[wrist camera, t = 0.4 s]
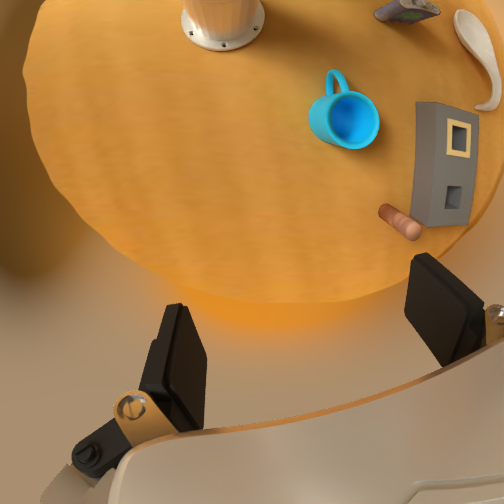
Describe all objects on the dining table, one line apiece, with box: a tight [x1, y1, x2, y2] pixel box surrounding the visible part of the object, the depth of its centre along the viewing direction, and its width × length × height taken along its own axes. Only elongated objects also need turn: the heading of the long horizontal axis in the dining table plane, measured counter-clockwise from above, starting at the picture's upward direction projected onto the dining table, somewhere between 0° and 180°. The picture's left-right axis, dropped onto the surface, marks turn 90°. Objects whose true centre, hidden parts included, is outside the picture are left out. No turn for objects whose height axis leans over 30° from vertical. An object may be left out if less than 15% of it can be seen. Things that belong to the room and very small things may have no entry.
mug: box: [309, 69, 379, 149], centre depth 35 cm, size 12×8×8 cm
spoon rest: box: [454, 9, 502, 111], centre depth 29 cm, size 24×12×7 cm, turn 13°
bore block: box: [410, 102, 479, 227], centre depth 40 cm, size 22×12×6 cm, turn 3°
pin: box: [378, 204, 422, 241], centre depth 43 cm, size 3×3×10 cm
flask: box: [374, 0, 441, 24], centre depth 25 cm, size 9×3×11 cm, turn 105°
